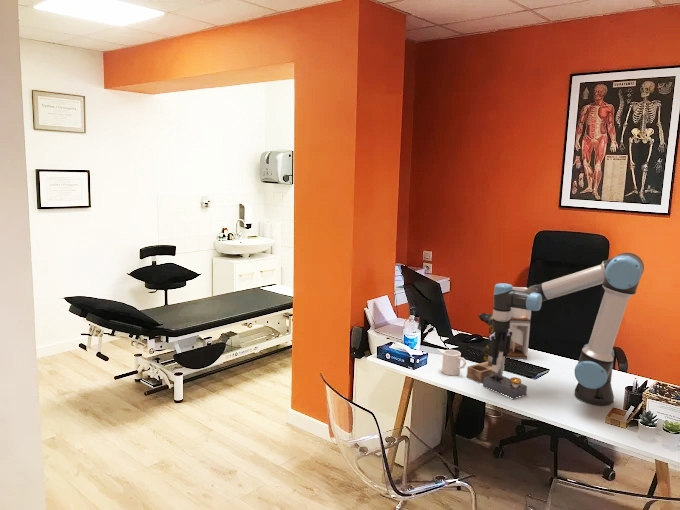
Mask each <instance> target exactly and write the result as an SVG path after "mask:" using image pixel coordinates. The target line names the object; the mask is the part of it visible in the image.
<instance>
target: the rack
mask: <svg viewBox="0 0 680 510" xmlns="http://www.w3.org/2000/svg"><path fill="white" fill-rule="evenodd" d="M492 365H493V364H492V357H490V356H488V361H487V362H480V363H476V364H473V365H470V366H467V370H466V378H469V379H470V380H473V381H475V382H477V383H479V384H481V383H483V380H484V377H487V376H491V375H494V371H492ZM503 372H504V371H502V376H504V375H503V374H504V373H503Z"/></svg>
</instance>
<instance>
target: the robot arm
mask: <svg viewBox="0 0 680 510" xmlns="http://www.w3.org/2000/svg"><path fill="white" fill-rule="evenodd" d="M644 270H645V264H644V262H643V260H642V259H641V258H640V256H638V255H637V254H636V253H631V252H621V253H619V254H617V255H615V256H613V257H611V258H608V259H606V260H603V261H602V262H601V264H598V265H595V266H592V267H588V268H585V269H582V270H580V271H576V272H574V273H569V274H567V275H562V276H561V277H557V278H554V279H551V280H549V281H545V282H542V283H539V284H534V285H530V286H529V287H527V288H528V289H527V290H525V291H517V290H513V287H514V286H513V285H512V284H510V283H504V282H503V283H502V282H499V283H496V284H495V285H494V289H493V298H492V301H493V303H492V304H493V305H492V315H493V319H492V327H493V329H494V330H493V334H488V335H487V338H488V345H489V356H490V357H492V364H493V365H492V371H494V372H497V373H498V367H499V358H498V353H499V347H500V350H502V351H503V362H502V371H503V372H504V371H505V365H504V363H505V359H506V358H505V356H508V355H507V354H509V350H510V342H511V336H512V332H510V331H508V329H509V328H510V319H511V307H512V308H519V309H525V310H530V311H531V312H532V311H535V312H538V311H540V310H541V308H542V305H543V304H542V303H543V302H545V301H548V300H551V299H554V298H560V297H562V296H566V295H569V294H571V293H577V292H578V291H583V290H585V289H589V288H591V287H595V286H599V285H602V286H601V287H602V288H603V289H604V293H603V296H602V299H601V302H600V306H599V309H598V313H597V314H596V319H595V321H594V324H593V329H592V330H591V331H592V332H591V335H590V338H589V340H588V343H586V344H584V345H583V347H582V349H581V352H580V356H579V358H578V362H577V364H576V365H575V367H574V377H575V379H576V380H577V384H576V386H575V389H574V394H573V395H574V397H575V398H576V399H578V400H579V401H581V402H583V403H585V404H586V403H587V404H588V405H589V404H590V405H594V406H596V405H597V406H610V405H612V404H613V403H614V399H615V395H614V391H613V387H612V376H613V375H612V374H613V367H614V357H615V350H614V345H615V341H616V339H617V336H618V334H619V331H620V330H619V329H620V326H621V323H622V320H623V318H624V316H625V315H624V314H625V311H626V308H627V306H628V302H629V299H630V298H631V297H632V296H634V295H635V296H636V293H637V289H638V286H639V283H640V280H641V278H642V276H643V273H644ZM505 364H506V363H505Z"/></svg>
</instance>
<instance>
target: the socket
mask: <svg viewBox="0 0 680 510" xmlns="http://www.w3.org/2000/svg"><path fill="white" fill-rule="evenodd" d="M510 379H511V378H509V377H506V376H505V375H502V377H501V380H499V381H496V380H494V375H491V376H487V377H484V380H483V382H482V383H483V384H482V387H484V388H486V387H487V389H488V388H490V389H489V390H491V389H492V390H491V391H493V390H494V391H493V392H495V391H497V392H499V393H502V394H504V395H507V396H509V397H511V398H515V399H517V398H516V397H518V398H520V397H519V396H521V397H523V396H522V395H524V396H526V395H527V392H528V391H527V390H528V389H527V388H528V386H527V385H525V384H523V383H522V382H521V383H520V384H519V388H514V387H512V382H511V381H510ZM497 392H496V393H497ZM499 393H498V394H499ZM502 394H501V395H502ZM504 395H503V396H504Z"/></svg>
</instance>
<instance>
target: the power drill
mask: <svg viewBox="0 0 680 510" xmlns="http://www.w3.org/2000/svg"><path fill="white" fill-rule="evenodd" d="M478 317H479V320H480V321H481V322H484V323H485V324H486V325H487V328H488V330H489V331H488V333H489V335H492V334H493V330H494V329H493V327H492V319H493V313H484V312H483V313H480V314H478ZM499 350H500V347H499ZM488 356H489V344H487V345H486V346H485V348H484V349H483V350H481V352H480V354H479V361H480V360H481V361H483V362H487V361H488ZM481 361H480V362H481ZM483 362H482V363H483ZM506 362H507V359H506V358H505V363H504V364H505V365H506Z"/></svg>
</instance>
